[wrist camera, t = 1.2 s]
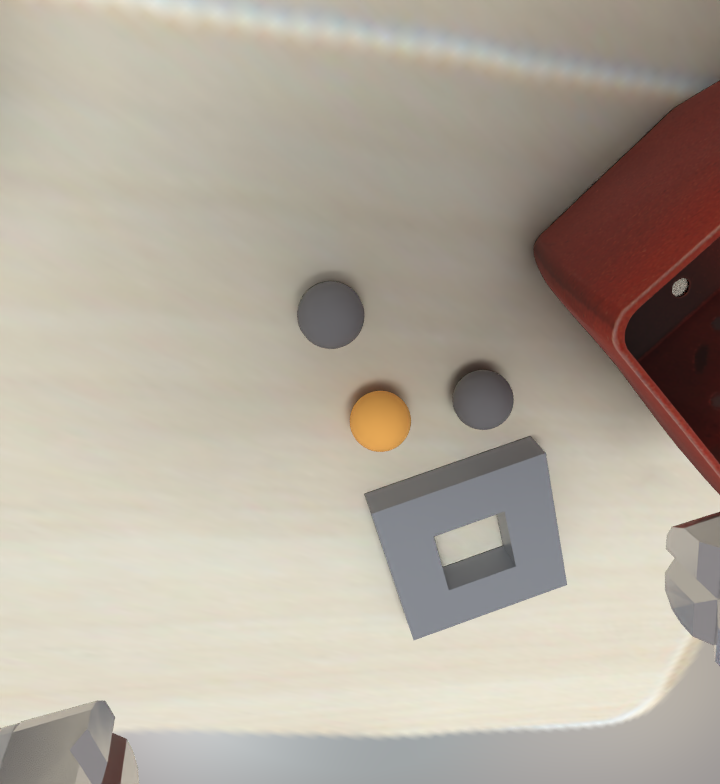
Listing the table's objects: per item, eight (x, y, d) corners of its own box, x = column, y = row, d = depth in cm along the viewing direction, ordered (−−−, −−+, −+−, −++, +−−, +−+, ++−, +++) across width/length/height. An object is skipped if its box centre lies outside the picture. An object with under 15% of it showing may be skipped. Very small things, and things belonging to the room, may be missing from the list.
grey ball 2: (494, 353, 43) (518, 375, 39) (503, 402, 44) (527, 428, 41) (439, 372, 42) (458, 396, 39) (451, 420, 44) (470, 448, 41)
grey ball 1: (347, 265, 38) (360, 281, 35) (364, 324, 40) (378, 345, 36) (285, 285, 38) (291, 304, 34) (305, 343, 40) (313, 367, 36)
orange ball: (394, 373, 42) (409, 398, 38) (408, 422, 44) (424, 451, 40) (338, 392, 42) (348, 419, 38) (354, 441, 43) (365, 471, 40)
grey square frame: (530, 436, 46) (545, 453, 44) (552, 564, 52) (567, 584, 50) (364, 494, 45) (371, 514, 43) (405, 616, 51) (413, 640, 49)
